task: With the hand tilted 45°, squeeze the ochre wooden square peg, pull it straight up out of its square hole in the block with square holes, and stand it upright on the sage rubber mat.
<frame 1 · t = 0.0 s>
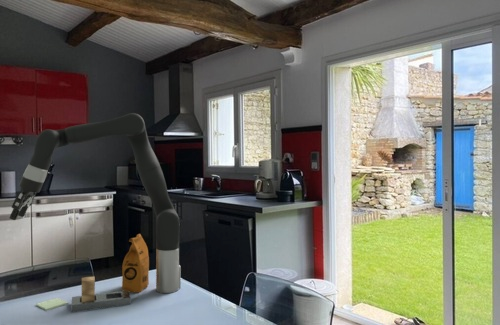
hand: (16, 217, 147), 31 cm above the table, tool tilted 20°, fingers open, 8 cm apart
mat: (52, 304, 142), on the table
block with square holes: (101, 304, 143), on the table
peg: (88, 305, 142), resting in block with square holes
coffee package: (135, 288, 162), on the table
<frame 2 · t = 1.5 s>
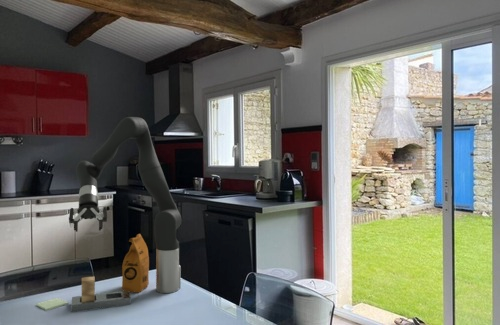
hand: (88, 229, 152), 26 cm above the table, tool tilted 45°, fingers open, 8 cm apart
nothing on the table moved.
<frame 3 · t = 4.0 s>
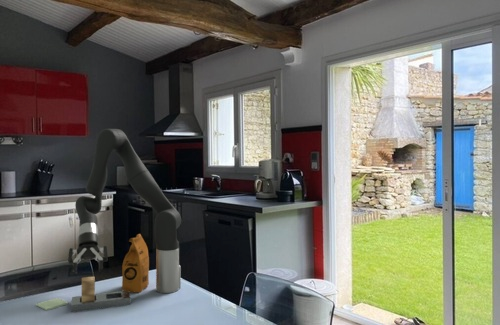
hand: (88, 271, 147), 11 cm above the table, tool tilted 45°, fingers open, 8 cm apart
nothing on the table moved.
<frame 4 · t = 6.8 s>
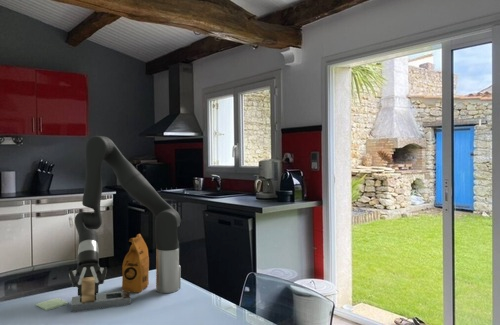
hand: (88, 294, 140), 5 cm above the table, tool tilted 45°, fingers closed on peg, 4 cm apart
peg: (88, 305, 142), resting in block with square holes, touching gripper
everything else where it was.
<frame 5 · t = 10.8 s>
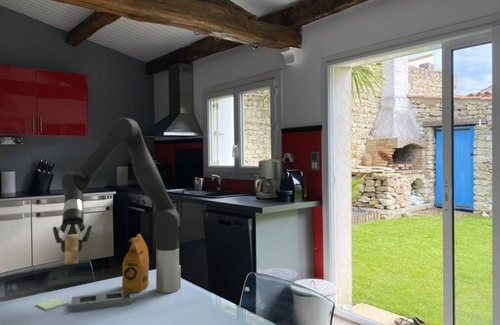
hand: (71, 250, 140), 21 cm above the table, tool tilted 45°, fingers closed on peg, 4 cm apart
peg: (71, 262, 142), point 16 cm above the table, touching gripper
everything else where it was.
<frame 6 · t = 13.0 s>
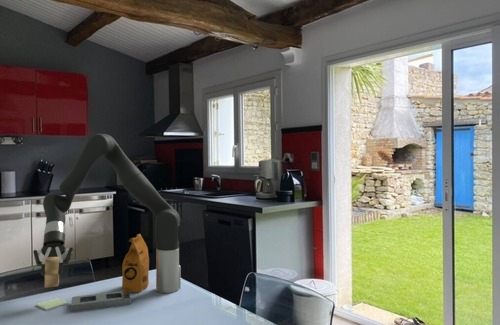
hand: (51, 274, 141), 12 cm above the table, tool tilted 45°, fingers closed on peg, 4 cm apart
peg: (51, 285, 142), point 7 cm above the table, touching gripper
everything else where it was.
when the fingers open (6 cm above the table, at t = 14.8 s): peg drops 1 cm, resting on mat.
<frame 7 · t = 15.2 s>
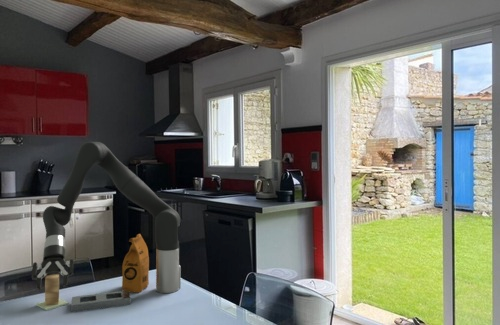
hand: (52, 287, 141), 7 cm above the table, tool tilted 45°, fingers open, 7 cm apart
peg: (52, 303, 142), point 1 cm above the table, touching mat
everything else where it was.
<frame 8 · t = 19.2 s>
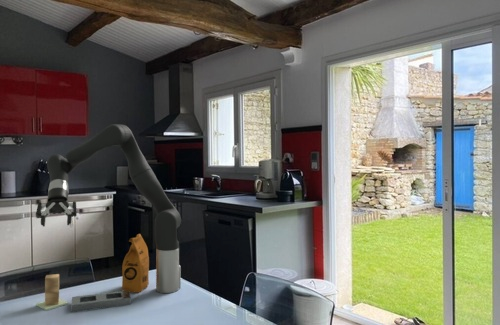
hand: (56, 224, 149), 29 cm above the table, tool tilted 45°, fingers open, 8 cm apart
nothing on the table moved.
at the end: peg 0.0 cm off-centre on the mat, point 0.6 cm above the mat's base; peg tilted 0°; the gripper is holding nothing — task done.
